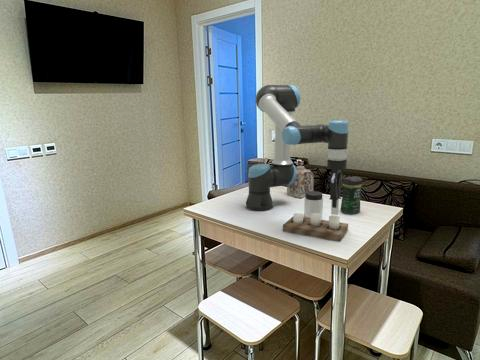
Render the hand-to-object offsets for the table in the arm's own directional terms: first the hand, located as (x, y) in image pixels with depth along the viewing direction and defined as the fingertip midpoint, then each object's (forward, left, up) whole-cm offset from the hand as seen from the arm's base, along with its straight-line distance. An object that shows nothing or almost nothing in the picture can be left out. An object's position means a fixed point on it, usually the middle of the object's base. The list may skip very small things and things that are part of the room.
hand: (334, 214), depth 134 cm
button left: (-16, 0, -8) cm, 18 cm away
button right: (0, 0, -6) cm, 6 cm away
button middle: (-8, 0, -6) cm, 10 cm away
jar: (-15, +18, -9) cm, 25 cm away
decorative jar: (-34, +52, -9) cm, 63 cm away
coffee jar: (0, +33, -9) cm, 34 cm away
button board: (-8, 0, -9) cm, 12 cm away
